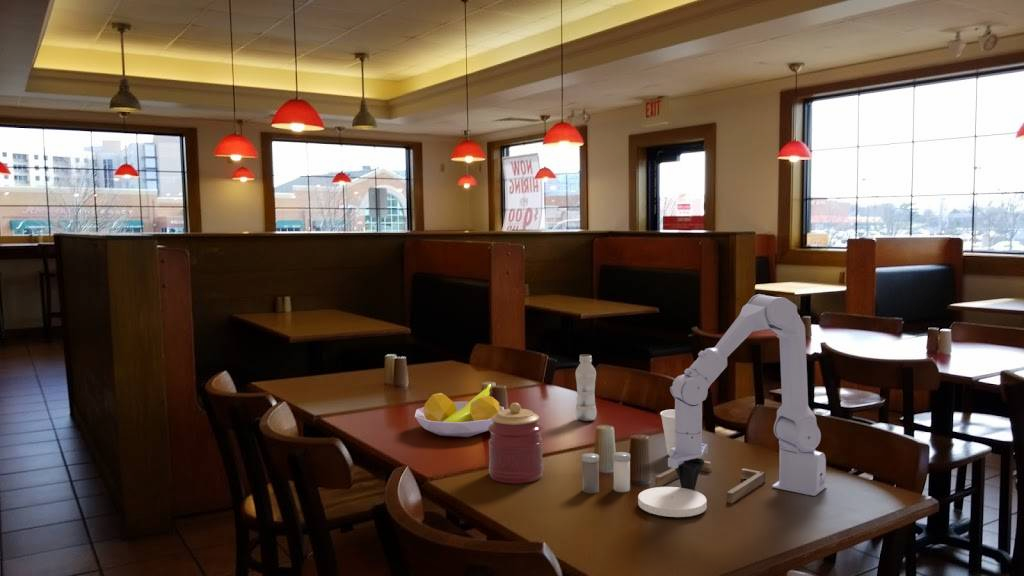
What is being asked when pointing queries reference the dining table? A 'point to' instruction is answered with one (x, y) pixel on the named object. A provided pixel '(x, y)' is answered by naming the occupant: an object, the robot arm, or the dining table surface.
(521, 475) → the canister
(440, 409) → the fruit bowl
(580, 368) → the plastic bottle
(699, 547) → the dining table surface
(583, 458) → the pepper shaker
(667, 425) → the cup
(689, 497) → the plastic lid
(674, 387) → the robot arm
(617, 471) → the salt shaker
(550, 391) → the dining table surface
